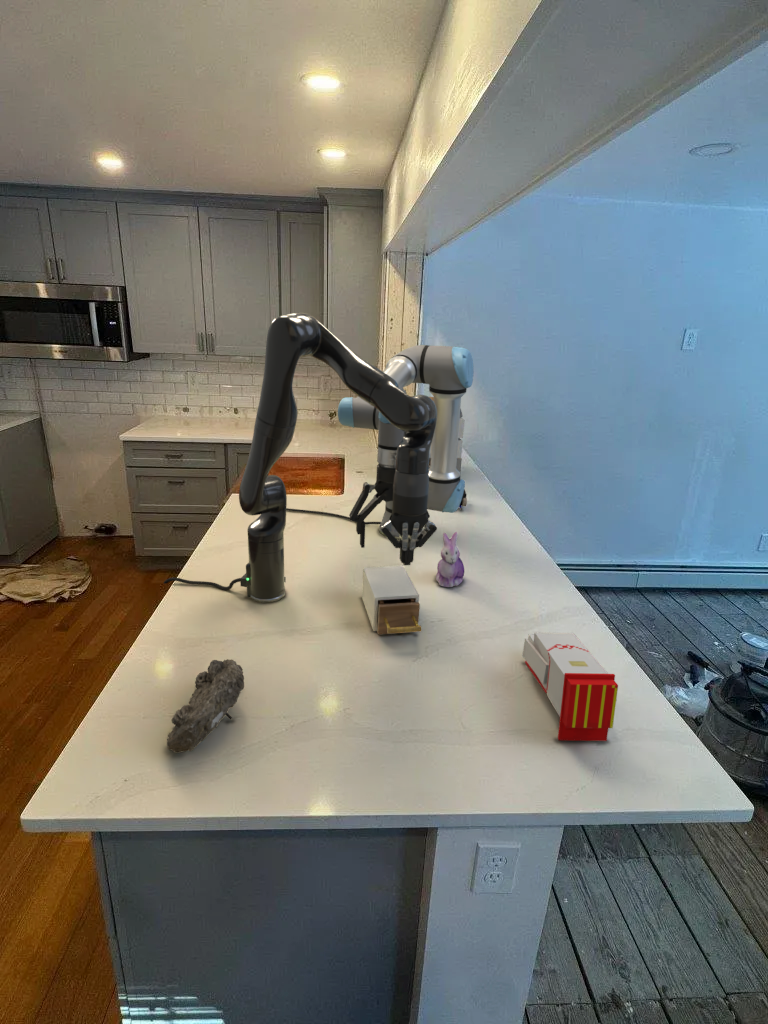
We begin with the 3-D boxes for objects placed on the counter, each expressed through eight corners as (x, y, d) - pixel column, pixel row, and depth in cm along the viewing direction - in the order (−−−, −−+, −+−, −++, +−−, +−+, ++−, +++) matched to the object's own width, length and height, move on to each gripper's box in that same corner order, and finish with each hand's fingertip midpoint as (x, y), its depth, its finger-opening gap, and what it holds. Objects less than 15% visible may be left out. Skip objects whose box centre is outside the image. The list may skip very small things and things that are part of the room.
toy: (569, 616, 131) (627, 681, 101) (563, 669, 133) (618, 748, 104) (517, 615, 130) (560, 680, 101) (512, 669, 133) (553, 747, 104)
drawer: (424, 645, 133) (426, 617, 130) (383, 648, 131) (384, 620, 128) (402, 600, 153) (404, 575, 150) (366, 602, 151) (367, 576, 148)
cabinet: (416, 628, 141) (419, 594, 138) (373, 631, 139) (374, 597, 136) (401, 595, 157) (403, 565, 154) (362, 598, 155) (363, 567, 152)
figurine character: (467, 515, 225) (461, 499, 238) (469, 498, 221) (463, 482, 235) (450, 514, 224) (445, 498, 238) (452, 497, 221) (447, 482, 234)
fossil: (192, 660, 117) (244, 628, 112) (224, 691, 120) (276, 661, 115) (142, 746, 98) (202, 712, 93) (182, 779, 101) (242, 748, 96)
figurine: (445, 591, 160) (450, 542, 155) (426, 576, 169) (430, 529, 164) (473, 585, 164) (478, 537, 159) (453, 571, 173) (457, 525, 168)
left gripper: (384, 496, 117) (380, 572, 122) (445, 495, 119) (439, 569, 125) (377, 485, 123) (374, 558, 129) (435, 484, 126) (429, 555, 132)
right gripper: (343, 468, 132) (341, 552, 139) (445, 467, 137) (439, 548, 144) (339, 460, 139) (338, 540, 146) (437, 460, 144) (431, 537, 151)
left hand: (406, 563), depth 127 cm, fingers closed
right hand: (388, 544), depth 145 cm, fingers open, 13 cm apart
